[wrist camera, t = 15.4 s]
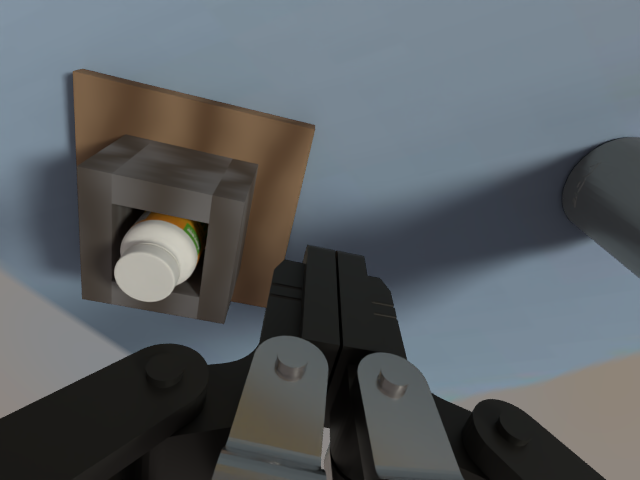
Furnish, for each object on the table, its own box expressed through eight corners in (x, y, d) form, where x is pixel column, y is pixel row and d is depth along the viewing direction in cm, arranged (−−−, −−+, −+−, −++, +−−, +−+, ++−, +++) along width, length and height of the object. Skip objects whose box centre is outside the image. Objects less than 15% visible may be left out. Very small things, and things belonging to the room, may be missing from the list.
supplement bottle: (229, 217, 36) (202, 280, 28) (189, 252, 38) (152, 323, 29) (180, 173, 34) (135, 227, 26) (140, 213, 36) (85, 276, 27)
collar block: (314, 125, 35) (314, 160, 27) (273, 300, 44) (264, 367, 36) (82, 68, 33) (3, 88, 25) (88, 265, 42) (32, 328, 34)
